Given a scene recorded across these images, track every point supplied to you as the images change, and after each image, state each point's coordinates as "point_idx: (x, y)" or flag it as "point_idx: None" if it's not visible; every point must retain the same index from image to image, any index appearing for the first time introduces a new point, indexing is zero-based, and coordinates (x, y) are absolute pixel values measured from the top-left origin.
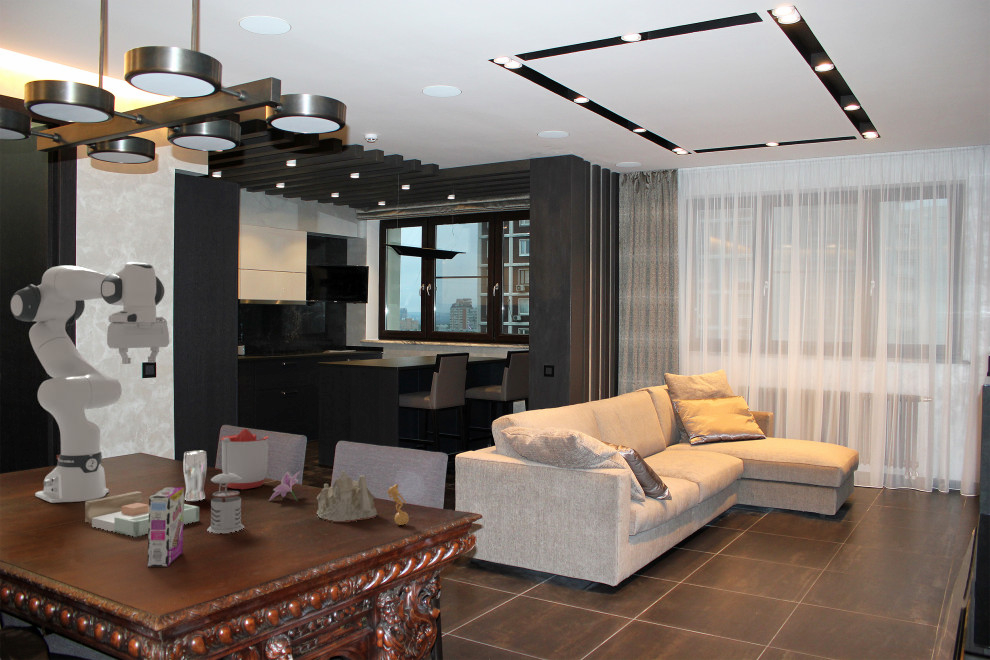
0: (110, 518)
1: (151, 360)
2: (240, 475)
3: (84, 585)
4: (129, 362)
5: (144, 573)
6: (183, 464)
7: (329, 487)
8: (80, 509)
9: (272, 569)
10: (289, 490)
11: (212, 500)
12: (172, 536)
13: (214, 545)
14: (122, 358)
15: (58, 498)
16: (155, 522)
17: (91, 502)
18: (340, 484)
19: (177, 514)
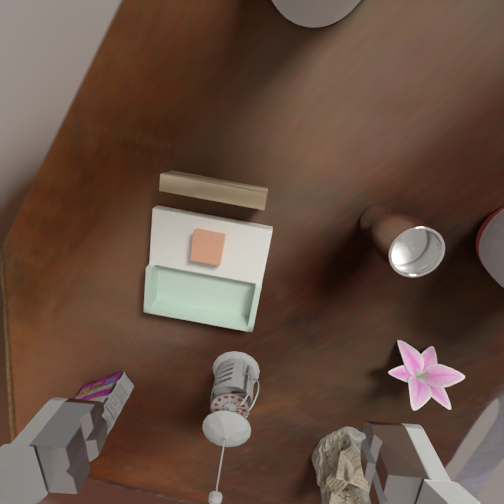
0: (164, 237)
1: (365, 471)
2: (486, 265)
3: (17, 370)
4: (89, 446)
5: (70, 393)
6: (387, 226)
7: (343, 484)
8: (233, 76)
9: (141, 473)
10: (416, 377)
11: (224, 384)
12: None
13: (173, 397)
14: (16, 440)
15: None
16: None
17: (161, 190)
18: None
19: None
